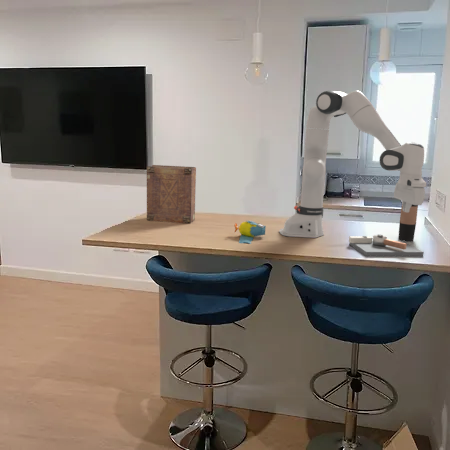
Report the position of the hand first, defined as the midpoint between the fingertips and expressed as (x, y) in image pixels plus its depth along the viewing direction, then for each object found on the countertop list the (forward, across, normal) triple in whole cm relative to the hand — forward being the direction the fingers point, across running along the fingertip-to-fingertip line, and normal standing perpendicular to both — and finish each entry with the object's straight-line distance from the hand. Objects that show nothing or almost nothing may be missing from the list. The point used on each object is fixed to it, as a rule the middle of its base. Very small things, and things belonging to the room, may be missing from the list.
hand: (405, 211), depth 209 cm
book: (+21, -65, -103) cm, 124 cm away
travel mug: (+19, -24, +14) cm, 33 cm away
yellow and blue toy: (+21, -28, -64) cm, 73 cm away
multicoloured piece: (+17, -1, -5) cm, 17 cm away
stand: (+19, -4, -6) cm, 20 cm away
